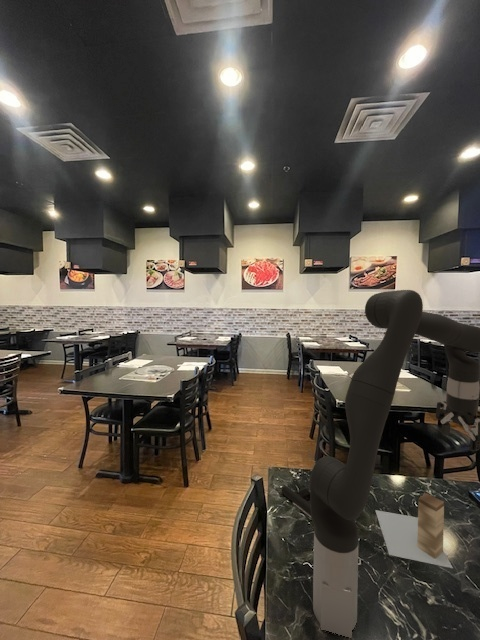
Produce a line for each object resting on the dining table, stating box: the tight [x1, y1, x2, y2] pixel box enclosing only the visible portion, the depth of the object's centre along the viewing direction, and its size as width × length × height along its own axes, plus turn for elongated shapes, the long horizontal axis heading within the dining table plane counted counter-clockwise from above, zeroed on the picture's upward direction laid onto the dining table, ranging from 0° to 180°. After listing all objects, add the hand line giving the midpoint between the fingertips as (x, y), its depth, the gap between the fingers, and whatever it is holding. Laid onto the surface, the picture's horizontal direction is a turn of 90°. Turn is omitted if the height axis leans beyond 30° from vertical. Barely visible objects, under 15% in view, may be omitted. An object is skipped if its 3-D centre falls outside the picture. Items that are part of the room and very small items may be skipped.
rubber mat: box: [375, 509, 454, 569], centre depth 83 cm, size 18×15×1 cm
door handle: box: [281, 485, 311, 518], centre depth 97 cm, size 3×20×16 cm
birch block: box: [417, 493, 445, 559], centre depth 77 cm, size 4×4×14 cm
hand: (459, 442), depth 85 cm, fingers open, 8 cm apart
